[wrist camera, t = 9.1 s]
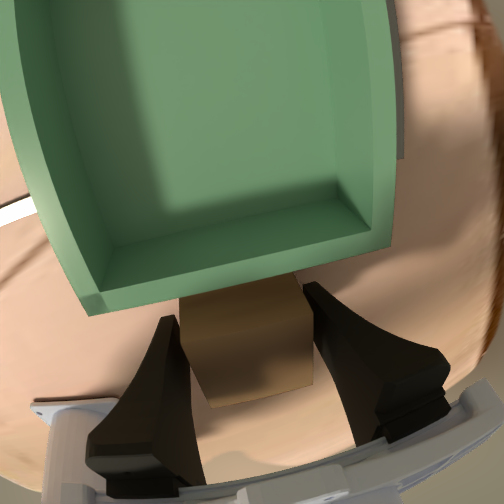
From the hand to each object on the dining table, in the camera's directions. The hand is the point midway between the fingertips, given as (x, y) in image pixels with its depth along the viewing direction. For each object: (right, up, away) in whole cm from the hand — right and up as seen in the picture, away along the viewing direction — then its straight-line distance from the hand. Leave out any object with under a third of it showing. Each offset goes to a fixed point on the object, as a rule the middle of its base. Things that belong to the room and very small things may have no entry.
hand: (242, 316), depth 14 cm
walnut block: (0, +1, +1) cm, 2 cm away
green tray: (-1, +9, -4) cm, 10 cm away
